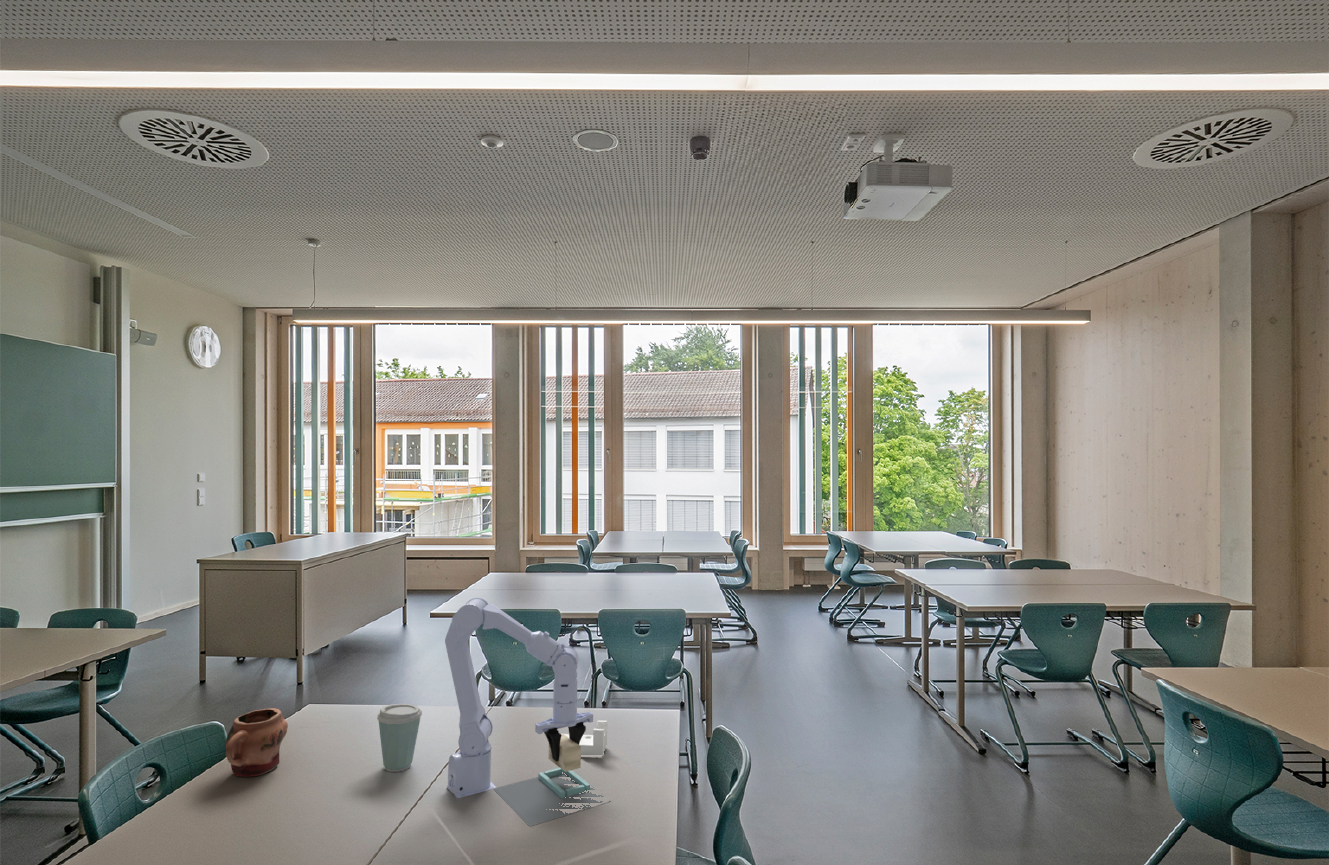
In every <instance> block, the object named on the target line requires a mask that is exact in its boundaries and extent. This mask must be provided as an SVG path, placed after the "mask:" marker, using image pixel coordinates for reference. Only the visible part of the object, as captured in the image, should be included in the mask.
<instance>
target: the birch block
mask: <svg viewBox="0 0 1329 865" xmlns="http://www.w3.org/2000/svg"><path fill="white" fill-rule="evenodd" d="M562 734H563V735H562V736H561V740H560V747H559V761H557V762H556V761H555V760H553V758H552V752H551V748H550V745H549V744H548V759H549V761H551V762H552V763H553V764H555V765H556V766H557V768H561V769H562V770H563V771H565V772H567V771H571V770H572V771H574V770H577V769H581V768H582V767H581V759H582V758H581V746H580V745H578V744H577V743H575V742H574V741H572V740H571V739H570V738H568V737H567V736H565V735H564V734H565V733H562Z"/></svg>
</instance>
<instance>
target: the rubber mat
mask: <svg viewBox="0 0 1329 865" xmlns="http://www.w3.org/2000/svg"><path fill="white" fill-rule="evenodd" d="M559 777H568V776H566V775H565V774H564V773H563V774H560V775H556V776H552V777H549V778H550V779H551V780H552V781H553V782H554V783H556V784H557V785H558V786H559V787H560V788H562V789H563V790H564V791H565V790H566V789H569V788H573V786H572V785H571V786H568V785H564V784H577V783H576V782H574V781H572V779H571V780H570V781H569V780H568V779H566V780H565V779H562V778H559ZM593 788H594V787H593ZM593 788H590V790H595V789H596V788H595V789H593ZM493 791H494V792H495V793H496V794H498V796H499V797H501V799H502V800H503V801H504V802H505V803H506V804H507V805H508V806H509V808H511V809H512V810H513V812H515V813H516V814H517V815H518V816H519V817H520V819H522V820H523V821H524V823H525V824H526V825H527V826H529V827H530V828H531V827H533V826H537V825H540V824H543V823H546V822H550V821H553V820H556V819H559V818H562V817H563V818H564V817H566V816H570V815H572V813H569V814H568V813H566V812H565V814H564V813H563V812H562V811H560V810H559V809H578V808H579V807H578V808H575V807H573V808H572V805H570V806H569V805H566V806H569V807H566V806H565V805H564V804H565V803H589V804H590V803H602V802H603V801H600V802H598V801H596V800H593V799H592V800H591V798H588V799H587V798H581V797H600V796H601V797H604V796H605V795H604V796H602V795H603V794H602V795H598V796H597V795H596V794H592V793H591V792H590V793H589V791H588V792H587V793H586V792H584V793H582V792H581V794H579V793H578V794H574V795H571V796H566V795H565V797H566V798H565V797H564V798H561V797H559V796H558V795H557V794H556V793H555V792H554V791H552V790H551V789H550V788H549V787H548V786H547V785H546V784H544V783H543V782H542V781H541V780H540V779H539V778H538V776H536V777H532V778H529V779H524V780H521V781H517V782H514V783H513V782H512V783H509V784H505V785H502V786H501V785H500V786H499V787H496V788H494V789H493ZM569 797H571V798H569ZM573 797H580V798H581V800H580V799H574V798H573ZM559 803H560V804H559ZM562 803H564V804H563V805H562ZM561 805H562V806H561ZM582 805H583V804H582ZM563 806H565V807H563ZM575 806H576V805H575ZM583 806H584V807H583V808H582V809H585V808H586V810H590V809H592V808H591V806H590V805H586V806H588V807H586V806H585V805H583ZM589 806H590V807H589ZM580 807H582V806H580ZM546 809H547V810H546ZM549 809H551V810H549ZM552 809H554V811H553V810H552ZM555 809H558V811H557V810H555ZM579 809H581V808H579Z"/></svg>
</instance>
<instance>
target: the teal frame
mask: <svg viewBox="0 0 1329 865" xmlns="http://www.w3.org/2000/svg"><path fill="white" fill-rule="evenodd" d="M562 772H563V773H565V774H566V775H567V776H568V777H570V778H571V779H572V780H574V781H575V782H576V783H577V784H579V785H580V786H576V787H573V788H569V789H566V790H565V791H564V790H563V789H562V788H560V787H559V786H558V785H557V784H556V783H554V782H553V781H552V780H551V779H550V778H549V777H552V776H556V775H560V774H562ZM537 774H538V776H537V777H538V778H539V779H540V780H541V781H542V782H543V783H544V784H546V785H547V786H548V787H549V788H550V789H551V790H552V791H554V792H555V793H556V794H557V795H558V796H559V797H561V798H564V797H565V795H566V796H571V795H574V794H578V793H581V792H584V791H585V790H586V791H587V790H590V785H591V784H590V783H589V782H588V781H587V780H585V779H583V777H581V776H580V775H579V774H577V773H576V772H575V771H574V770H571V771H567V772H565V771H563V770H562V769H561V768H560V767H557V768H552V769H549V770H545V771H543V772H538V773H537Z"/></svg>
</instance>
